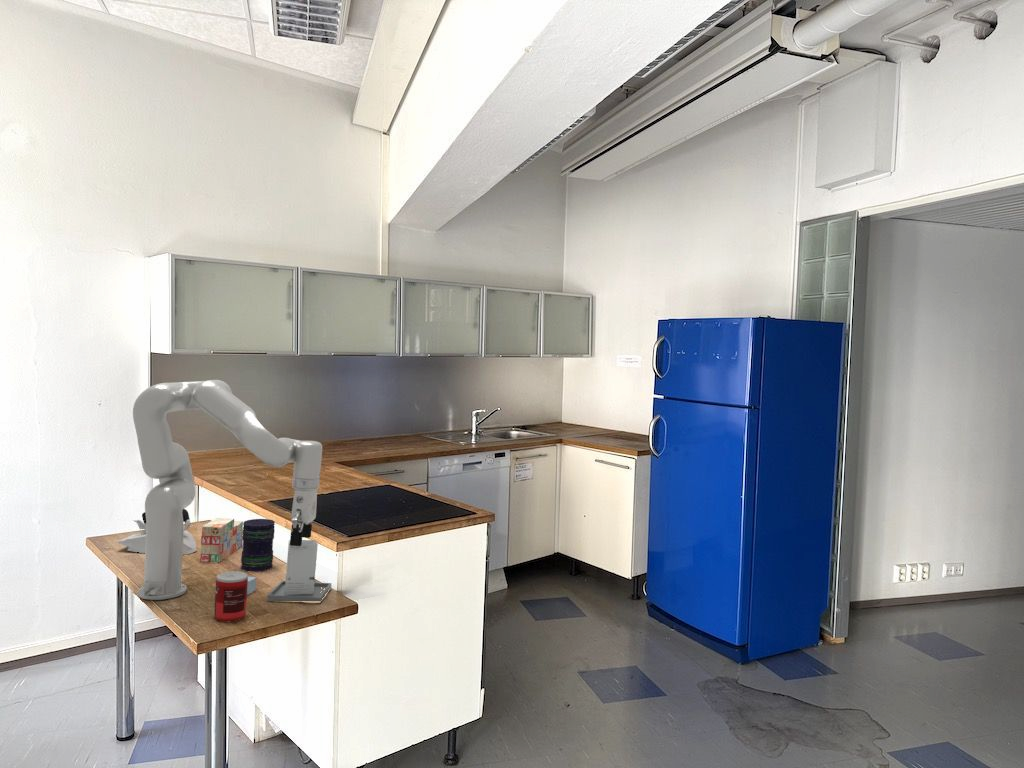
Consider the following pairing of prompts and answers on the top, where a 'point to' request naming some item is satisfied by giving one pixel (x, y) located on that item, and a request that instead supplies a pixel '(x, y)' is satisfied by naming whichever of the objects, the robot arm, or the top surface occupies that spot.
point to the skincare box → (301, 568)
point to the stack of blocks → (220, 539)
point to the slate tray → (279, 595)
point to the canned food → (230, 596)
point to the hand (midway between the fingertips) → (300, 541)
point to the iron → (139, 540)
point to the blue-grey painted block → (251, 585)
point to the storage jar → (257, 544)
